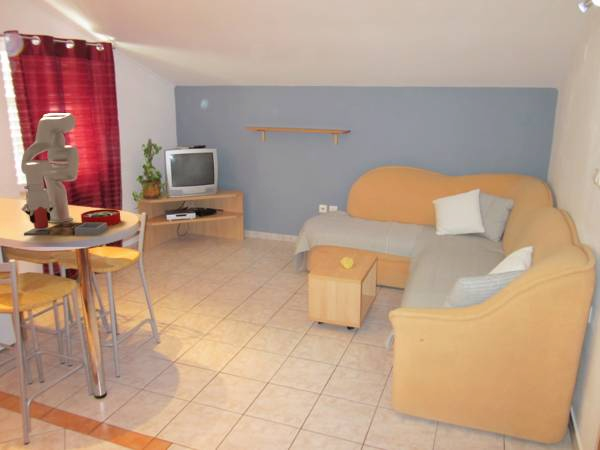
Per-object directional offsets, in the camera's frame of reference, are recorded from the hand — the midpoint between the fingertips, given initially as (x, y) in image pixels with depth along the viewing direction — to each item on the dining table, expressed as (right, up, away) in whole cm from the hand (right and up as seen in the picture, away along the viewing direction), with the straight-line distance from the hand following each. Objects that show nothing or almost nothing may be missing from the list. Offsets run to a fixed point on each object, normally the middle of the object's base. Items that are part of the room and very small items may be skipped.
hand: (40, 221), depth 262 cm
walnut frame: (+13, -5, +1) cm, 14 cm away
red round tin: (+24, -1, +19) cm, 30 cm away
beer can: (0, -3, +1) cm, 3 cm away
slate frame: (+26, -5, 0) cm, 27 cm away
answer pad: (0, -5, +1) cm, 6 cm away
